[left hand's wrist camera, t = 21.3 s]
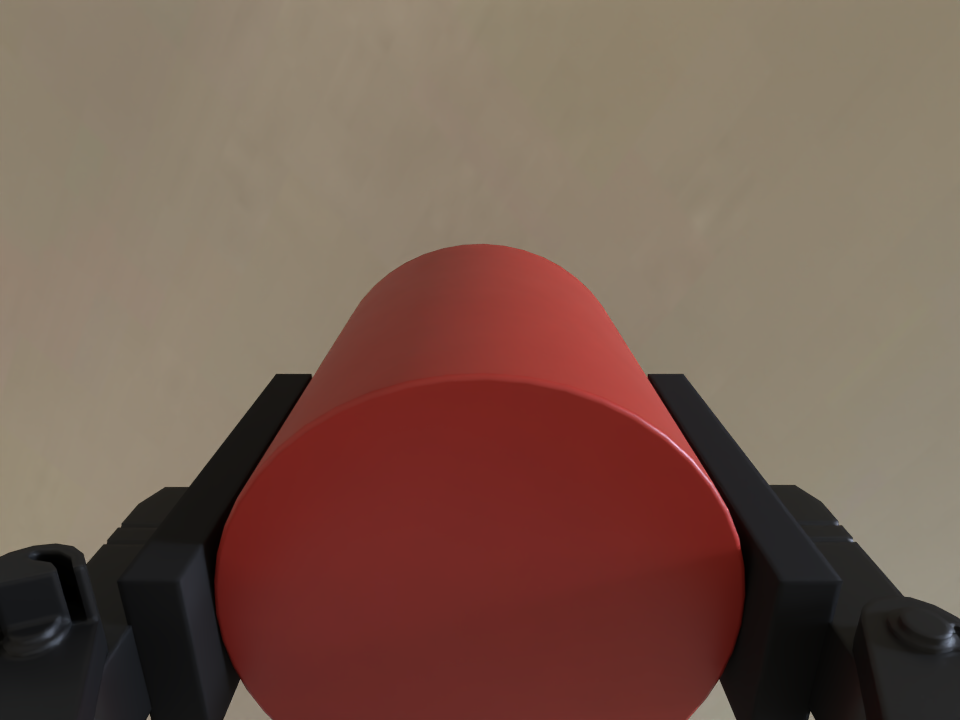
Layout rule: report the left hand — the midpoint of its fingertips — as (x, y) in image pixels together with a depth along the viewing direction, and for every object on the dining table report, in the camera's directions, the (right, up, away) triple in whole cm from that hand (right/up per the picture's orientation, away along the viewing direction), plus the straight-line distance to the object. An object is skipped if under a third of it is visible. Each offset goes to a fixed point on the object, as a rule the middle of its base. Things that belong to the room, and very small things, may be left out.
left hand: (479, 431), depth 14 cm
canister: (0, +1, +2) cm, 2 cm away
